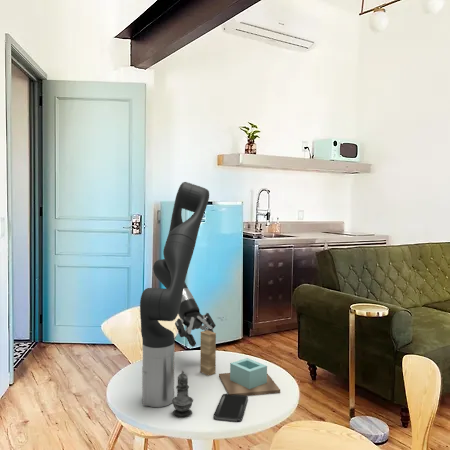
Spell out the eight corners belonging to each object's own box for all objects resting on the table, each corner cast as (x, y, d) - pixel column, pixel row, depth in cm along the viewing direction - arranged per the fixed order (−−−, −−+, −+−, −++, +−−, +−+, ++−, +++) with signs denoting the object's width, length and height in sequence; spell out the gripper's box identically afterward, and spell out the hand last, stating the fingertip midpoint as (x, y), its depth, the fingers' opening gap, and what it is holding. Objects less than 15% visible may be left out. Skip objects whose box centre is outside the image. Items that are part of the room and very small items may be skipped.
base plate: (229, 397, 135) (229, 394, 135) (218, 376, 151) (218, 373, 151) (280, 392, 139) (280, 389, 139) (264, 373, 154) (264, 370, 154)
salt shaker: (168, 416, 123) (168, 373, 122) (176, 406, 129) (177, 365, 128) (188, 419, 122) (188, 376, 121) (196, 409, 127) (196, 368, 126)
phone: (212, 417, 121) (222, 393, 136) (212, 421, 122) (222, 396, 136) (241, 420, 120) (248, 395, 135) (241, 424, 120) (248, 399, 135)
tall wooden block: (208, 375, 151) (208, 334, 151) (200, 371, 155) (200, 331, 154) (215, 373, 153) (215, 333, 152) (207, 369, 157) (207, 330, 156)
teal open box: (249, 389, 139) (249, 371, 138) (230, 379, 146) (230, 363, 145) (266, 382, 144) (267, 365, 143) (247, 374, 151) (247, 358, 150)
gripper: (172, 300, 156) (192, 341, 148) (205, 295, 165) (225, 333, 157) (164, 312, 161) (182, 353, 153) (196, 306, 170) (215, 344, 162)
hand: (204, 342), depth 155 cm, fingers open, 8 cm apart
